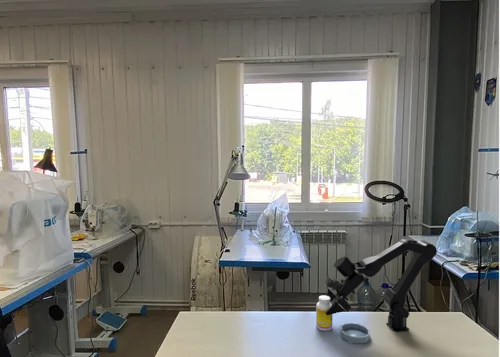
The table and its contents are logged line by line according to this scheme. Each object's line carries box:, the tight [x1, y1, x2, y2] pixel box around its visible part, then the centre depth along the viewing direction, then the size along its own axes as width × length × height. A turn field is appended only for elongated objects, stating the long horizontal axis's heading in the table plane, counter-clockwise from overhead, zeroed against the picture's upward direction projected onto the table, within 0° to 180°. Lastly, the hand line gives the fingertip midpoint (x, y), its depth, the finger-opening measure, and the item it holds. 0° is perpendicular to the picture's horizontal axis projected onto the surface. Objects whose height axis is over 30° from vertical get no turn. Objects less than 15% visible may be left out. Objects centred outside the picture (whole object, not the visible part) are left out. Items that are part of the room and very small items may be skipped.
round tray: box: [339, 322, 371, 345], centre depth 131 cm, size 11×11×2 cm
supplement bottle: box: [315, 294, 333, 332], centre depth 137 cm, size 7×7×13 cm
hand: (323, 309), depth 137 cm, fingers open, 9 cm apart
